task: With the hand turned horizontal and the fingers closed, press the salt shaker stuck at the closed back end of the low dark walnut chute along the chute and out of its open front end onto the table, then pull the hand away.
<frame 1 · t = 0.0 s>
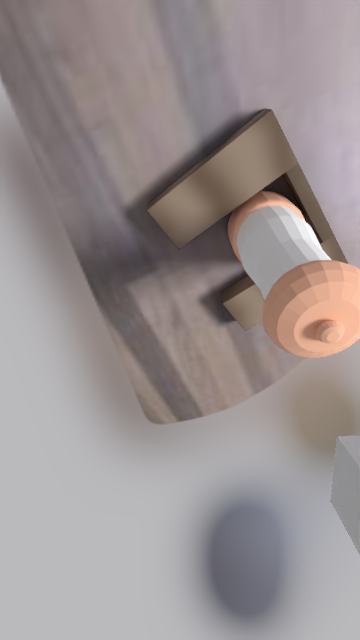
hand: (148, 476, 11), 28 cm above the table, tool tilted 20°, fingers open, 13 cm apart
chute: (245, 237, 35), on the table
salt shaker: (261, 225, 35), on the table
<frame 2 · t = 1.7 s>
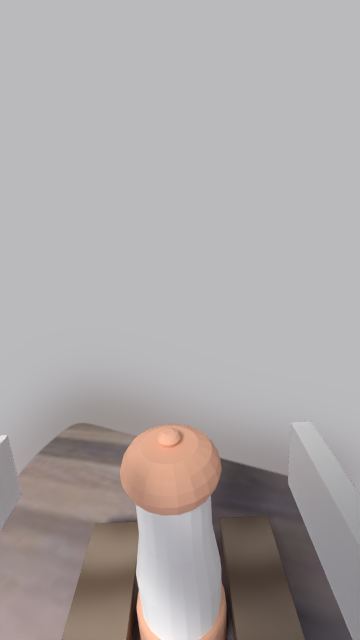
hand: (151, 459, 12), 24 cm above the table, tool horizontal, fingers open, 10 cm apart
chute: (182, 599, 29), on the table
salt shaker: (183, 627, 27), on the table
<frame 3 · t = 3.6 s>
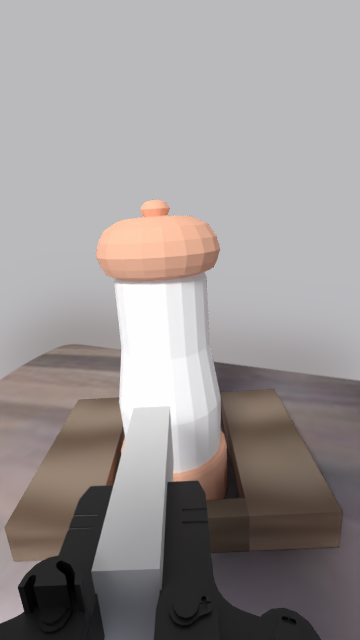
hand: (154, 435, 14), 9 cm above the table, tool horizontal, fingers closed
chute: (176, 461, 25), on the table
salt shaker: (177, 483, 23), on the table
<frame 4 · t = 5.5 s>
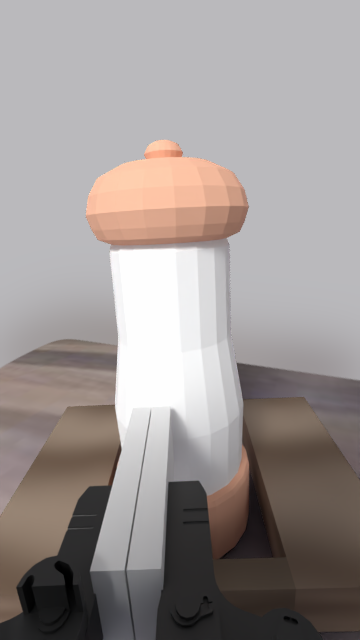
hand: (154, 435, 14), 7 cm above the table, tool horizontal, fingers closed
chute: (186, 489, 20), on the table
salt shaker: (185, 507, 19), on the table, touching gripper
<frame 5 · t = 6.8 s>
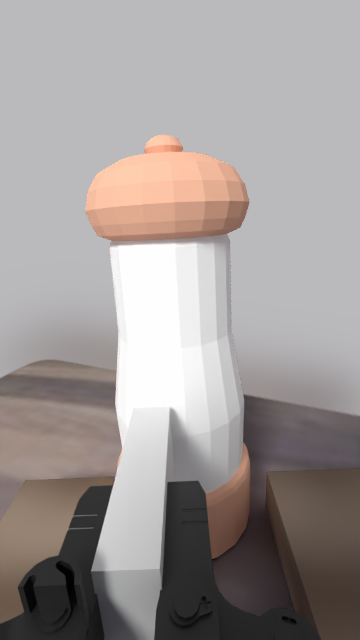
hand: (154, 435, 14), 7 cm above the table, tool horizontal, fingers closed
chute: (195, 639, 13), on the table
salt shaker: (186, 505, 19), on the table, touching gripper
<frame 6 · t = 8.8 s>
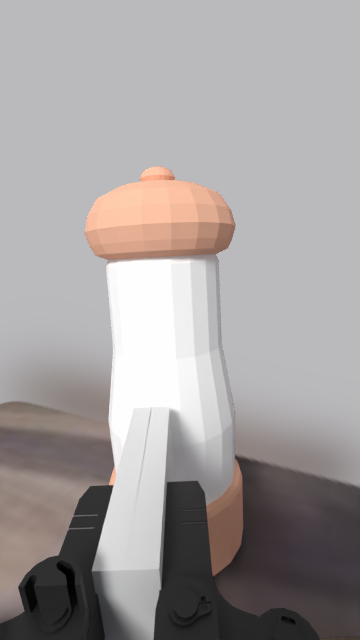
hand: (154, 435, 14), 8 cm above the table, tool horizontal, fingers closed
salt shaker: (179, 527, 19), on the table, touching gripper
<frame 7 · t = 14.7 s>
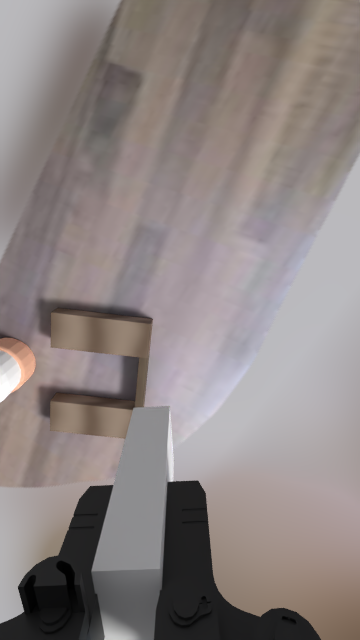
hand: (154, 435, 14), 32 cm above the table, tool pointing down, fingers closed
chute: (97, 371, 48), on the table
salt shaker: (11, 360, 48), on the table
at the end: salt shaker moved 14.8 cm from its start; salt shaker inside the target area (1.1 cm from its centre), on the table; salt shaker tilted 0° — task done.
